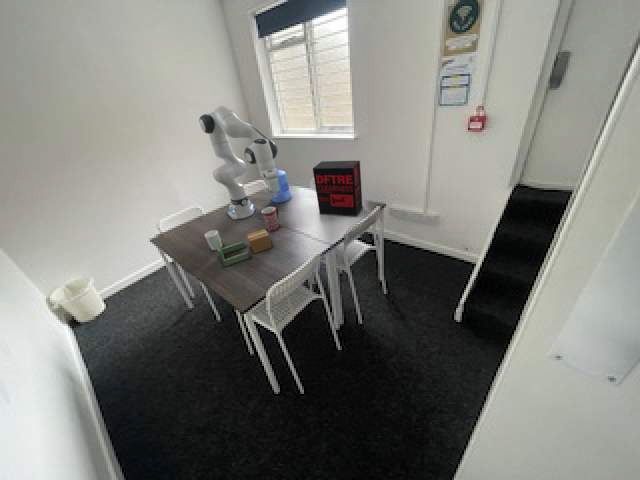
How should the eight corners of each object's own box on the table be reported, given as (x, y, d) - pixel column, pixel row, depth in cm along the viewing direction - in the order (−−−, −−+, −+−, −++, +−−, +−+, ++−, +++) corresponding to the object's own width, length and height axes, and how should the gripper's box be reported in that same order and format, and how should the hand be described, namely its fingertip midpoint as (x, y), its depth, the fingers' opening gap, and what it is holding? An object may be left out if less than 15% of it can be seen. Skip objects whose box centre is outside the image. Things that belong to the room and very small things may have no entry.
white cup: (212, 244, 164) (206, 231, 159) (224, 242, 164) (219, 229, 159) (209, 251, 158) (202, 238, 152) (221, 249, 158) (216, 235, 152)
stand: (245, 246, 158) (240, 231, 152) (249, 257, 146) (244, 243, 141) (221, 254, 154) (215, 239, 148) (224, 266, 142) (217, 251, 137)
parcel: (268, 240, 159) (264, 228, 155) (272, 247, 152) (268, 234, 148) (250, 246, 156) (246, 234, 152) (253, 253, 149) (249, 241, 145)
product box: (319, 213, 180) (312, 168, 164) (327, 204, 191) (321, 161, 174) (356, 216, 170) (353, 168, 153) (362, 206, 181) (359, 160, 164)
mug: (274, 232, 167) (269, 214, 159) (263, 230, 171) (258, 212, 164) (286, 223, 175) (281, 205, 168) (275, 221, 180) (271, 203, 173)
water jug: (271, 197, 218) (263, 164, 203) (289, 193, 220) (282, 160, 205) (273, 204, 205) (264, 169, 190) (292, 200, 207) (285, 165, 192)
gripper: (257, 168, 148) (264, 190, 155) (266, 177, 131) (273, 202, 139) (268, 165, 150) (274, 188, 157) (278, 173, 133) (284, 198, 140)
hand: (273, 194), depth 148 cm, fingers open, 6 cm apart
